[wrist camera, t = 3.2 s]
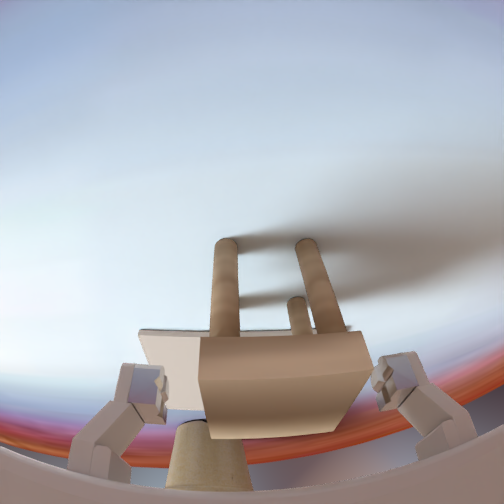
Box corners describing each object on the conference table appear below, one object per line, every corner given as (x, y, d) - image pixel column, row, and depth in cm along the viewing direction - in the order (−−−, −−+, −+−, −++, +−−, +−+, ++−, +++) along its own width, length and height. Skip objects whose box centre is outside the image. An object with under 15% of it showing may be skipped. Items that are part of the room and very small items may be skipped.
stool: (209, 234, 13) (198, 379, 8) (323, 234, 14) (374, 368, 8) (214, 313, 16) (211, 438, 11) (307, 312, 17) (333, 431, 11)
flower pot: (276, 421, 26) (285, 506, 19) (231, 448, 31) (234, 515, 24) (178, 403, 23) (173, 501, 16) (151, 433, 27) (146, 506, 21)
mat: (139, 329, 17) (137, 335, 17) (343, 327, 18) (345, 332, 17) (168, 404, 23) (167, 408, 23) (312, 402, 24) (313, 406, 23)
